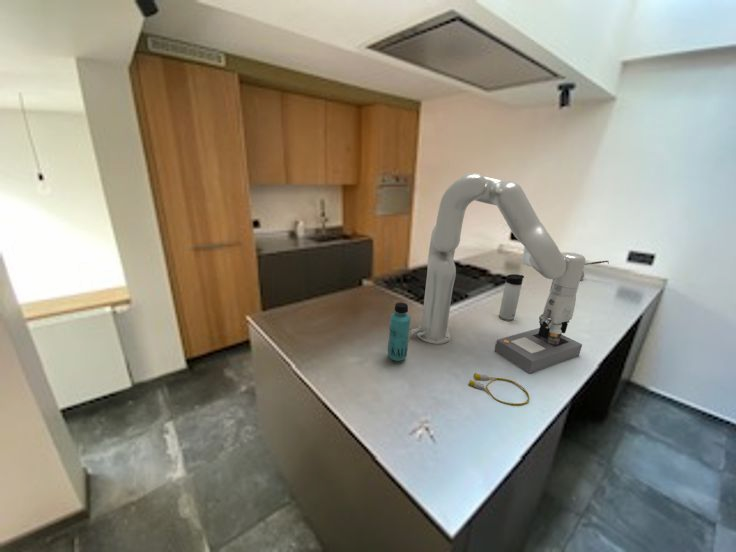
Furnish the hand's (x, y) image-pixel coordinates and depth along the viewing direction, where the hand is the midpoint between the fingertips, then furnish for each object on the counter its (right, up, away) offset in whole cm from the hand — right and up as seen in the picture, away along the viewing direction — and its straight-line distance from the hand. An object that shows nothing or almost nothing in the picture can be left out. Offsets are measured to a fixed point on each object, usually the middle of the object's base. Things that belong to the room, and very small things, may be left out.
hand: (551, 334), depth 108 cm
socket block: (-6, -7, -1) cm, 9 cm away
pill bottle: (0, -5, +2) cm, 6 cm away
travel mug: (-4, +2, +25) cm, 26 cm away
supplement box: (+52, +29, +111) cm, 126 cm away
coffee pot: (+67, +18, +80) cm, 106 cm away
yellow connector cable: (-27, -13, -19) cm, 36 cm away
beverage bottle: (-56, -7, -7) cm, 57 cm away
